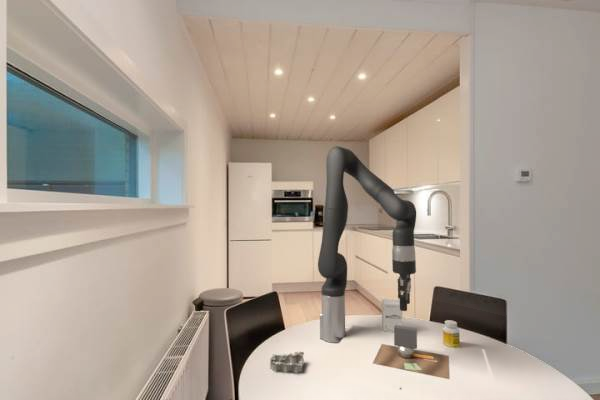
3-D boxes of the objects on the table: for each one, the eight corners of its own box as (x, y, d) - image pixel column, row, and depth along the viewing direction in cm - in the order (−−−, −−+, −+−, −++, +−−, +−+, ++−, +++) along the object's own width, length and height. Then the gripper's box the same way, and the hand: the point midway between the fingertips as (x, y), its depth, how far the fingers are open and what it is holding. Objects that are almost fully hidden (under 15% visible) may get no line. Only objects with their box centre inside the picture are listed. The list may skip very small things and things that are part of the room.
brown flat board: (372, 368, 97) (372, 363, 98) (381, 348, 112) (381, 343, 112) (449, 384, 88) (449, 378, 88) (448, 360, 102) (448, 355, 103)
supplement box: (384, 335, 124) (383, 303, 124) (381, 328, 131) (381, 298, 132) (403, 336, 123) (402, 304, 123) (399, 329, 130) (399, 299, 131)
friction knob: (393, 356, 102) (393, 328, 102) (396, 350, 106) (395, 323, 107) (433, 363, 97) (432, 334, 97) (433, 356, 101) (433, 329, 102)
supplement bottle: (448, 344, 115) (448, 318, 115) (462, 349, 110) (462, 322, 111) (440, 348, 112) (439, 321, 112) (454, 353, 107) (453, 325, 108)
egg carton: (305, 364, 101) (305, 351, 101) (301, 375, 94) (301, 362, 94) (274, 361, 103) (274, 348, 103) (267, 372, 96) (267, 359, 96)
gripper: (395, 255, 112) (396, 300, 111) (389, 261, 99) (390, 311, 99) (417, 256, 109) (418, 302, 108) (413, 262, 96) (415, 314, 95)
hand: (405, 306), depth 103 cm, fingers open, 8 cm apart
